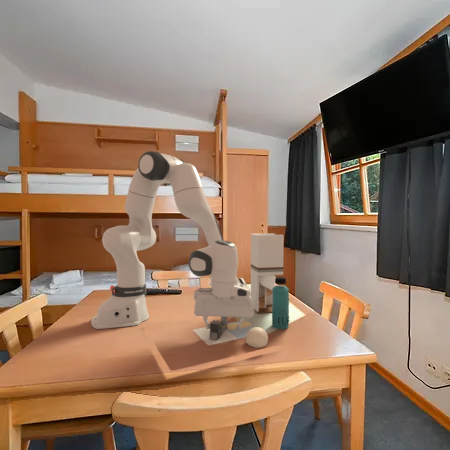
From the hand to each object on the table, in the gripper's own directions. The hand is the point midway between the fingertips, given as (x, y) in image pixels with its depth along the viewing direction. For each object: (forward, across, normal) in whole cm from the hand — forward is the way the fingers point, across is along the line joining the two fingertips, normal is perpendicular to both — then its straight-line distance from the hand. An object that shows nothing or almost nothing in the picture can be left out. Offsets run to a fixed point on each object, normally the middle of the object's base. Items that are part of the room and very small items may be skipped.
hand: (223, 328), depth 99 cm
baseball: (+4, +11, -5) cm, 13 cm away
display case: (+5, +18, +31) cm, 36 cm away
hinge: (+5, +9, +61) cm, 62 cm away
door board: (+4, +2, +5) cm, 7 cm away
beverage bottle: (+4, +21, +11) cm, 24 cm away
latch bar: (+3, -2, +2) cm, 4 cm away
